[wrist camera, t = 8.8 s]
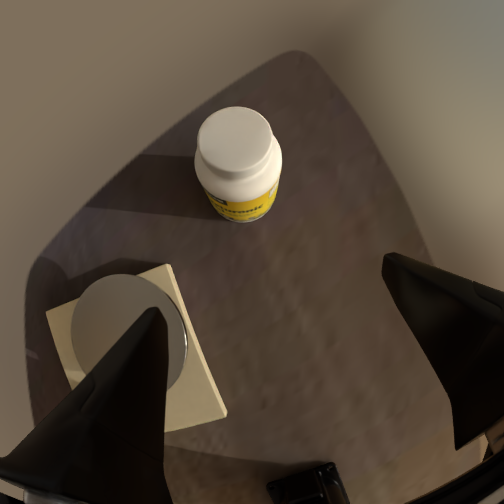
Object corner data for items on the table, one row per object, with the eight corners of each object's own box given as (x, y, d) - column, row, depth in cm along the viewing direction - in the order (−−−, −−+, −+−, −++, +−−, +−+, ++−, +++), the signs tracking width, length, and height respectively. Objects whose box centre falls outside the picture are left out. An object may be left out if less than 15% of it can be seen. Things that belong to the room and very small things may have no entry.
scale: (230, 417, 23) (226, 432, 20) (100, 443, 22) (86, 456, 19) (170, 264, 24) (159, 261, 21) (48, 312, 24) (29, 314, 21)
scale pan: (208, 382, 20) (207, 384, 20) (101, 408, 20) (97, 411, 19) (161, 255, 21) (159, 254, 21) (60, 296, 21) (56, 296, 21)
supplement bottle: (200, 213, 25) (167, 168, 15) (222, 154, 25) (204, 87, 16) (265, 232, 25) (269, 196, 15) (283, 171, 25) (297, 107, 15)
